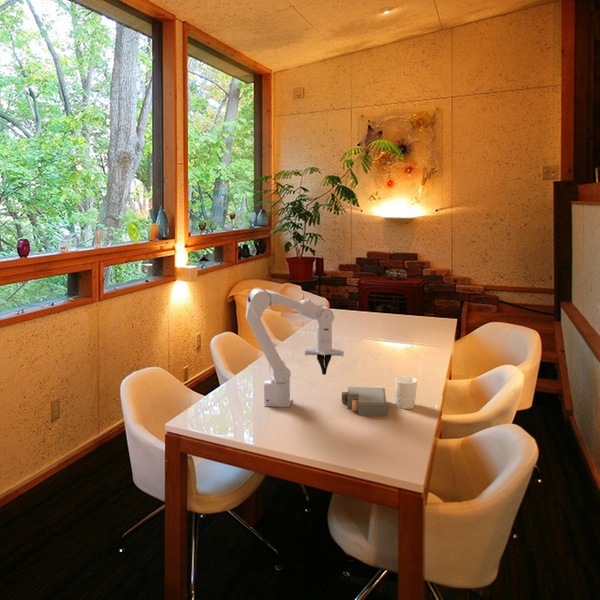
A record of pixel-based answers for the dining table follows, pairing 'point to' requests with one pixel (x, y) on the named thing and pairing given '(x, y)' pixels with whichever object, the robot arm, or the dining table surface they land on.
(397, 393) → the white cup
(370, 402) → the box
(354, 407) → the orange knob
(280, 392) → the robot arm
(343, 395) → the walnut knob
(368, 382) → the dining table surface
